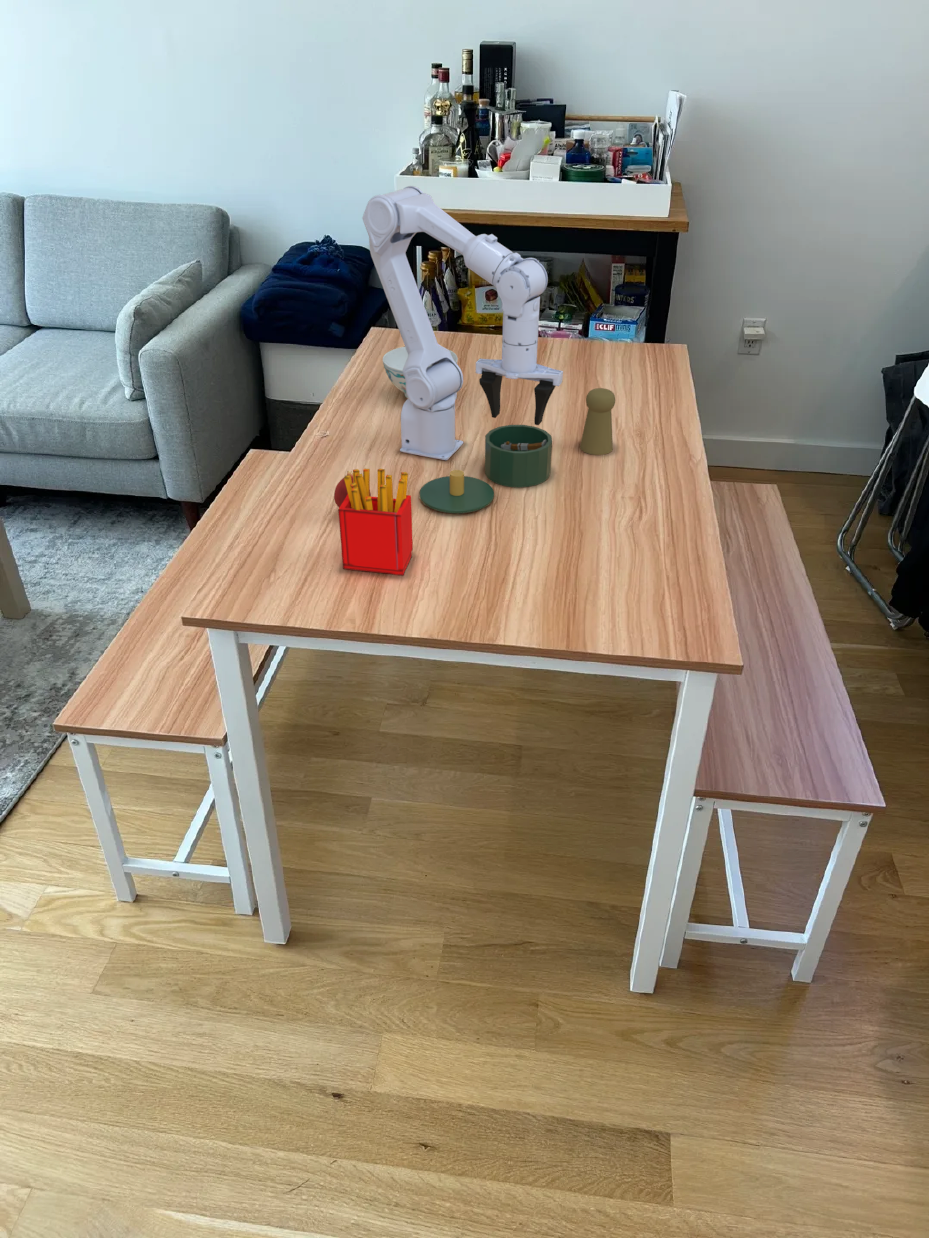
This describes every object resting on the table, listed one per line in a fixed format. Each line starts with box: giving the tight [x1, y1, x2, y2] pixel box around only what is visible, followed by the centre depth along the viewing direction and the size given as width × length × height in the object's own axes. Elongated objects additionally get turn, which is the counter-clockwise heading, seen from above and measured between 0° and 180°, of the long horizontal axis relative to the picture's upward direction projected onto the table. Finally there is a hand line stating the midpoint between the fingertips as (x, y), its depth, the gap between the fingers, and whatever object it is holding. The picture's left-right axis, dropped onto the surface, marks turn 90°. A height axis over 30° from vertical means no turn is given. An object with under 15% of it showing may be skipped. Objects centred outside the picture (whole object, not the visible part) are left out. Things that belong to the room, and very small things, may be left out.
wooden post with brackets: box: [501, 440, 547, 451], centre depth 166 cm, size 2×8×4 cm, turn 72°
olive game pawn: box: [579, 387, 616, 456], centre depth 173 cm, size 6×6×11 cm
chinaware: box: [382, 346, 459, 399], centre depth 194 cm, size 15×15×8 cm
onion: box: [333, 470, 372, 509], centre depth 153 cm, size 6×6×8 cm
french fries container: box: [337, 468, 414, 576], centre depth 140 cm, size 7×9×14 cm
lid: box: [419, 469, 495, 514], centre depth 159 cm, size 12×12×5 cm
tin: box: [484, 424, 553, 488], centre depth 167 cm, size 11×11×6 cm
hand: (516, 419), depth 162 cm, fingers open, 7 cm apart
